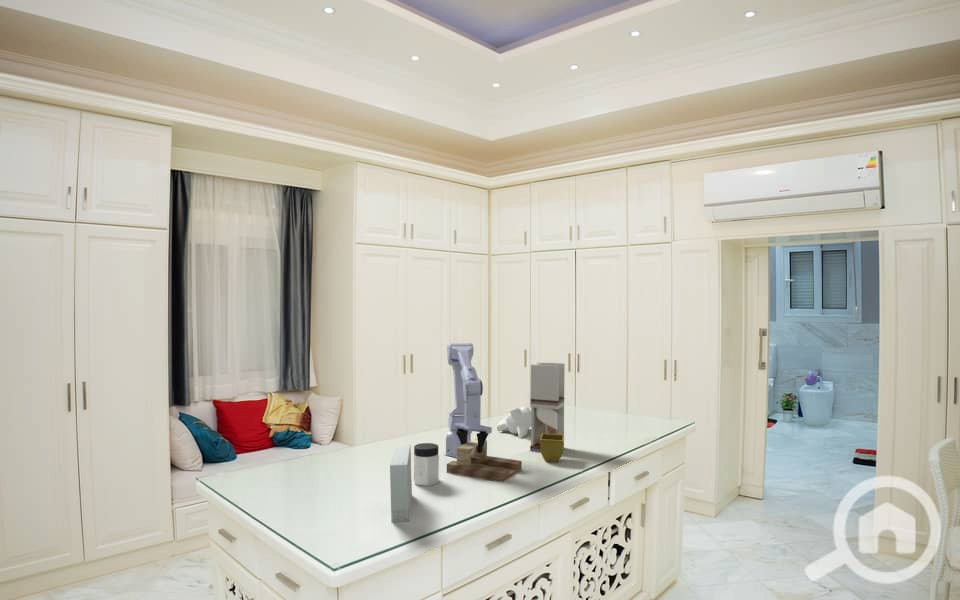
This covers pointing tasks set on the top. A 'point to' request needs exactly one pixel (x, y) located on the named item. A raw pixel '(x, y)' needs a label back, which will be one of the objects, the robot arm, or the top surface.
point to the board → (487, 468)
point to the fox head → (516, 422)
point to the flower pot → (551, 447)
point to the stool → (469, 452)
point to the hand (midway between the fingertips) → (472, 451)
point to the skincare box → (401, 483)
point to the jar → (426, 464)
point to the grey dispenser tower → (546, 401)
